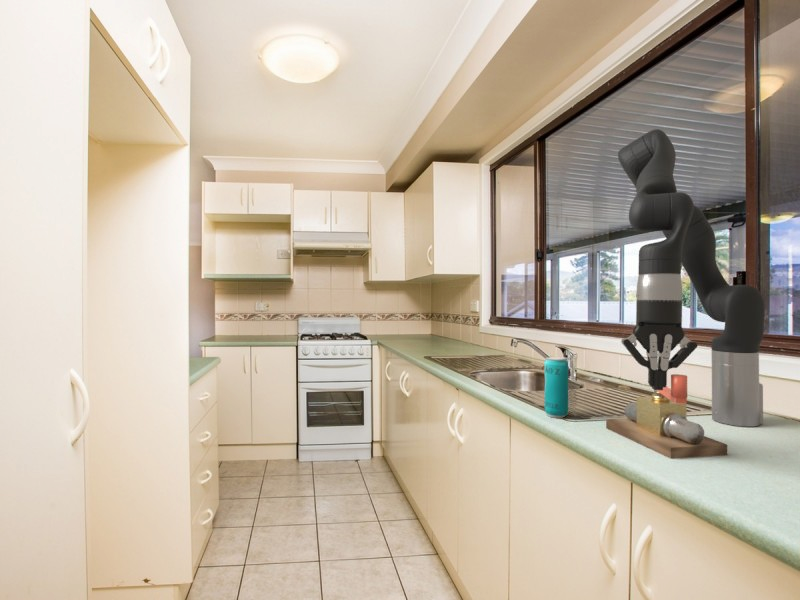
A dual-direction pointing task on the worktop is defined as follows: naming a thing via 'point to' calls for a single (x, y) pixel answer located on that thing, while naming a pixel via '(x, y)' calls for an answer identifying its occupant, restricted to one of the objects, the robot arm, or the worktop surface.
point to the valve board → (665, 429)
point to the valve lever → (675, 389)
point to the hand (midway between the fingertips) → (657, 389)
